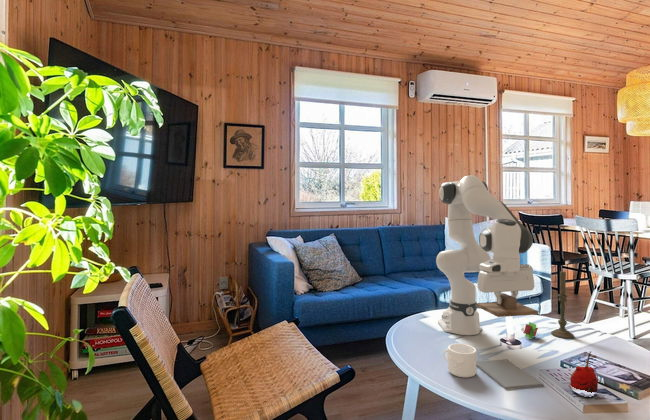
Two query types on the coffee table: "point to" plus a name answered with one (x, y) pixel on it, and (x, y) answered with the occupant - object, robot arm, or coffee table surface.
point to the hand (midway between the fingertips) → (506, 303)
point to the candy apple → (585, 378)
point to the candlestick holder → (562, 311)
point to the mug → (461, 360)
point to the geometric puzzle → (529, 330)
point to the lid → (507, 307)
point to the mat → (508, 374)
